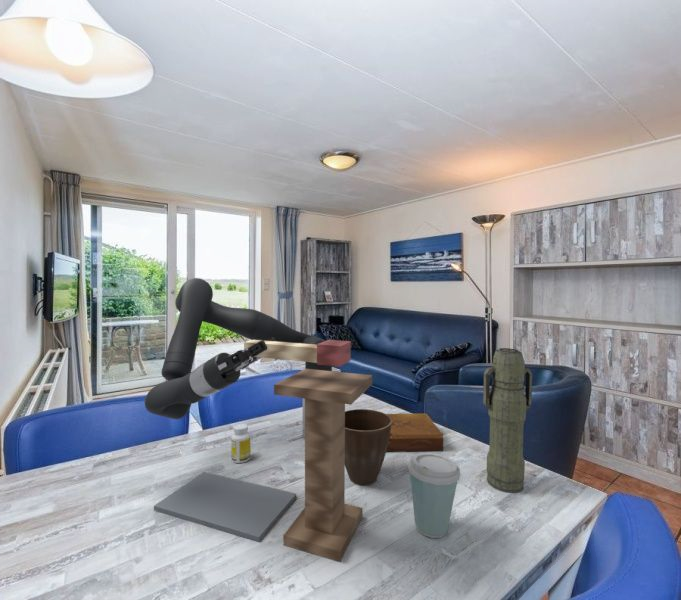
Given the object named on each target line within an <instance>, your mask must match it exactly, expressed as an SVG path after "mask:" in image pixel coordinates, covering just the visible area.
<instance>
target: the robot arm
mask: <svg viewBox="0 0 681 600" xmlns="http://www.w3.org/2000/svg"><path fill="white" fill-rule="evenodd" d="M213 292H214V291H213V288H212V286H211V284H210V283H209V282H208V281H206V280H204V279H202V278H196V277H195V278H191V279H188V280H186V281H185V282H184V283H182V286H181V287H180V289H179V291H178V293H177V295H176V299H175V302H174V303H175V308H176V309H177V311H178V312H179V315H178V318H177V323H176V325H175V328H174V330H173V334H172V336H171V339H170V342H169V344H168V347H167V350H166V353H165V357H164V361H163V365H162V368H161V376H162V377H163V379H165V380H166V381H163V382H161V383H158V384H156V385H154V386H153V387H152V388H151V389H150V390H149V391H148V392H147V394H146V395H145V399H144V407H145V409H146V411H148V412H149V413H150V414H152V415H155V416H156V415H157V416H160V417H163V418H167V419H172V420H180V419H182V418H184V417H185V416H186V415H187V414H188V413H189V411H190V409H191V406H192V404H196V403H198V402H200V401H202V400H204V399H206V398H207V397H209V396H212V395H215V394H216V393H218V392H220V391H222V390H224V389H225V388H227V387H230V386H231V385H233V384H235V383H236V382H237V381H238V380H239V379H240V377H241V370H245V369H247V368H249V367H250V365H252V364H254V363H256V362H258V361H259V360H260V359H261V358H262V357H254V356H256V355H258V354H260V353H262V352H263V351H265V350H267V346H266V344H265V342H264V341H276V342H289V343H302V344H315V345H317V344H319V343H322V342H324V341H326V340H325V339H322V337H321V338H320V337H318V336H313V335H310V334H307V333H304V332H301V331H297V330H295V329H294V328H292V327H290V326H288V325H286V324H285V323H283V322H282V321H279V320H278V319H276V318H275V317H273V316H270V315H268V314H266V313H264V312H261V311H259V310H257V309H253V308H246V307H245V308H244V307H243V308H242V307H231V306H225V305H222V304H220V303H218V302H215V301H214V300H213V296H214V293H213ZM203 323H206V324H207V323H208V324H211V325H215V326H216V327H219V328H222V329H224V330H227V331H228V332H231V333H235V334H237V335H240V336H242V337H243V338H246V339H248V340H250V341H251V340H262V341H259V342H258V343H256V344H254V345H253V346H251V347H248V348H245V349H244V348H243V349H240V350H237V351H236V352H234V353H231V354H230V353H228V352H220V353H218V354H216V355H215V356H213V357H211V358H210V359H208V360H206V361H205V362H203V363H202V364H200V365H199V366H197V367H196V368H195V369H194V370H192V369H193V365H194V360H195V355H196V351H197V347H198V345H197V344H198V340H199V336H200V333H201V332H200V331H201V327H202V325H203ZM304 365H305V368H304V369H314V370H324V371H333V366H329V365H319V364H317V363H313V362H305V364H304ZM301 430H302V437H303V438H304V439H305V399H304V398H302V429H301Z"/></svg>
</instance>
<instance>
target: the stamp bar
mask: <svg viewBox="0 0 681 600" xmlns="http://www.w3.org/2000/svg"><path fill="white" fill-rule="evenodd" d="M259 341H262V340H251V339H250V340H248V341H244V342H243V350H244V349H245V348H248V347H251V346H253V345H254V344H256V343H258V342H259ZM264 342H265V344H266V346H267V350H265V351H263V352H262V353H260V354H258V355H256V356H254V357H262V358H264V359H274V360H282V361H283V360H284V361H294V362H303V363H304V362H313V363H317V364H319V365H329V366H332V367H339V368H340V367H342V366H344V365H345V364H347V363H349V362H350V361H351V355H352V354H351V351H352V350H351V349H352V348H351V347H352V345H351V344H352V343H351V342H352V341H349V340H338V339H337V340H336V339H327V340H325V341H324V342H322V343H319V344H317V345H315V344H302V343H289V342H276V341H264Z"/></svg>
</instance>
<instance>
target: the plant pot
mask: <svg viewBox="0 0 681 600" xmlns="http://www.w3.org/2000/svg"><path fill="white" fill-rule="evenodd" d="M387 414H388V413H385V412H382V411H379V410H374V409H365V408H364V409H361V408H359V409H349V410H345V471H346V473H347V475H348V478H349V479H350V481H351V482H352V483H353V484H356V485H360V486H368V485H372V484H373V483H375V482H377V479H378V478H379V475H380V472H381V469H382V467H383V463H384V460H385V457H386V453H387V452H386V450H387V446H388V442H389V437H390V431H391V424H392V419H391V418H390V417H389V416H388V415H387Z"/></svg>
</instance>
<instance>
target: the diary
mask: <svg viewBox="0 0 681 600" xmlns="http://www.w3.org/2000/svg"><path fill="white" fill-rule="evenodd" d="M386 414H387V415H388V416H389V417H390V418H391V419H392V424H391V431H390V437H389V442H388V446H387V450H386V453H393V452H394V451H406V452H443V451H444V436H443V432H441V431H440V429H439V428H438V427H437V425H436V424H435V422H434V421H433V420H432V418H430V416H429V415H428V414H427V413H425V412H424V413H386ZM392 451H393V452H392ZM394 453H395V452H394Z"/></svg>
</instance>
